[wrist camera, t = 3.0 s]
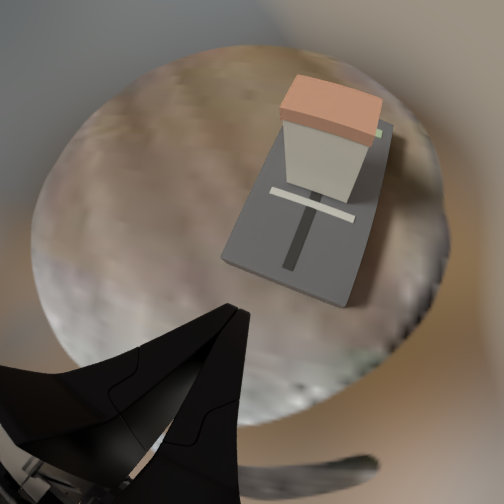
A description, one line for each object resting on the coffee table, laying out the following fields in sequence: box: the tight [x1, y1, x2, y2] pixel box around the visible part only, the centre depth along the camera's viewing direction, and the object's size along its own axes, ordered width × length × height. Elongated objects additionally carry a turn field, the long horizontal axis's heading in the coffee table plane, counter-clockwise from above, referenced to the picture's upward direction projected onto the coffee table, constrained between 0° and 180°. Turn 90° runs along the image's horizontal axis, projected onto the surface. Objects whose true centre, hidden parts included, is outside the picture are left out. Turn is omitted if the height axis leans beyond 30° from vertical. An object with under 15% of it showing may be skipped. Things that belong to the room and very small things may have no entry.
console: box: [220, 120, 394, 308], centre depth 22 cm, size 18×10×2 cm, turn 157°
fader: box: [279, 74, 383, 203], centre depth 17 cm, size 3×5×9 cm, turn 66°
